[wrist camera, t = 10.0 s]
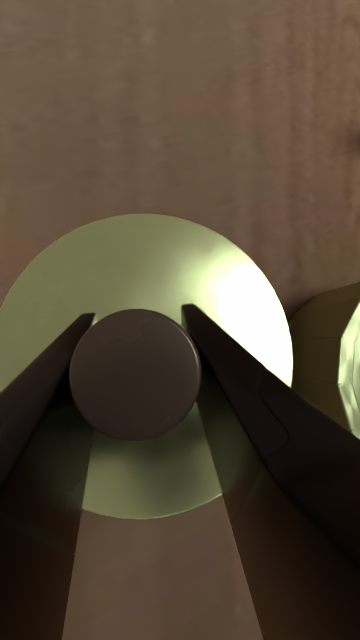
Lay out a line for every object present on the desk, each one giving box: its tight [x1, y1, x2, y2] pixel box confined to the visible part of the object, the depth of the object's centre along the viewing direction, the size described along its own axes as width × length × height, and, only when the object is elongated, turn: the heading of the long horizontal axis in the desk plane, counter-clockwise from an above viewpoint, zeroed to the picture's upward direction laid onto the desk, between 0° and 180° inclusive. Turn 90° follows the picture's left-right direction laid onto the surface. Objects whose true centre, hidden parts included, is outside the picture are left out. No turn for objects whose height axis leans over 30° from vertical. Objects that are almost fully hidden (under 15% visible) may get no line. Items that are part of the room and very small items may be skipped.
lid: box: [0, 213, 293, 520], centre depth 8 cm, size 12×12×7 cm
